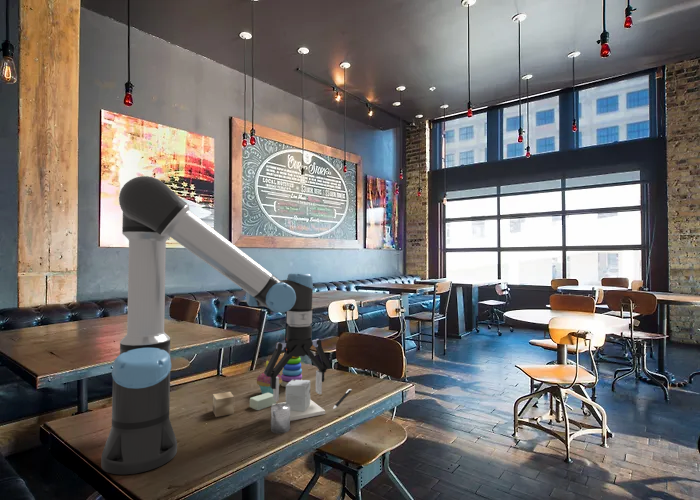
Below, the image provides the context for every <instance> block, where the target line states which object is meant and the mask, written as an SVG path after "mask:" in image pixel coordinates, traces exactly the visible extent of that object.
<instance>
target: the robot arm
mask: <svg viewBox="0 0 700 500" xmlns="http://www.w3.org/2000/svg"><path fill="white" fill-rule="evenodd" d="M118 196H119V197H118V203H119V207H120V209H121V211H122V222H121V223H122V226H121V227H122V229H121V230H122V231H121V234H122V235H123V236H124V237H125V238H126V239H127V240H128V270H127V272H128V273H127V274H128V275H127V278H128V279H127V280H128V283H127V321H126V322H127V323H126V326H127V329H126V335H125V336H123V338H122V339H121V340H120V341H119V355H118V356H117V357H116V358H115V359H114V362H113V366H112V369H111V376H112V397H111V399H112V400H111V401H112V403H111V429H110V431H109V434H108V436H107V439H106V442H105V444H104V448H103V450H102V452H101V461H100V462H101V463H100V465H101V469H102V470H103V471H104V472H106V473H108V474H113V475H134V474H140V473H145V472H148V471H151V470H155V469H157V468H159V467H162V466H164V465H165V464H167V463H168V462H170V461H171V460H172V459H174V457H175V456H176V455H177V452H178V441H177V440H178V439H177V438H176V434H175V431H174V429H173V426H172V423H171V420H170V409H171V408H170V407H171V406H170V405H171V370H172V361H171V337H170V336H169V335H168V334H167V333H166V332H165V310H166V309H165V307H166V304H165V301H166V253H167V250H166V248H167V245H166V244H167V241H168V239H170V238H171V239H173V240H174V241H176V242H177V243H178V244H179V245H181V246H183V247H184V248H185V249H186V250H188V251H189V252H191V253H192V254H194V256H196V257H198V258H199V259H200V260H201V261H203V262H205V263H206V264H208V266H210V267H211V268H213V269H214V270H215V271H217V272H218V273H219V274H221V275H222V276H224V277H225V278H226V279H228V280H229V281H230V282H232V283H234V285H236V286H238V287H239V288H240V289H242V290H243V291H244V292H245V300H246V304H247V305H248V306H249V307H265V308H267V309H269V310H270V311H271V312H274V313H277V314H278V313H280V314H282V313H283V314H284V313H286V324H287V326H286V337H285V342H279V341H276V342H275V346H274V347H275V348H274V351H273V353H272V354H271V357H270V360H268V365H267V367H266V366H265V367H266V368H265V369H264V372H263V373H264V374H265V375H266V376H267V377H270V387H271V388H272V389H273V399H274V400H275V401H276V402H279V400H280V399H279V397H280V395H279V393H280V385H279V378H278V377H277V375H278V374H279V375H280V373H281V371H283V369H284V366H285V365H286V364H287V362H288V361H289V360H290V359H291V358H292V357H293V356H294V357H298V356H299V357H305V356H307V357H308V358H309V359H310V361H311V362H312V363H313V365H314V366H315V367H316V368H317V370H315V393H317V394H318V395H322V394H323V393H322V390H323V385H322V383H324V382H325V373H326V372H327V370H330V369H331V364H330V361H329V360H328V358H327V356H326V354H325V353H326V352H325V351H324V349H323V346H322V345H323V344H322V340H321V339H319V338H315V339H313V340H312V336H313V335H312V331H313V329H312V328H313V326H312V325H311V324H312V323H313V291H314V284H313V282H314V280H313V276H312V274H310V273H307V272H306V273H302V272H301V273H299V272H295V273H293V272H291V273H287V278H286V279H283V280H282V279H279V278H278V277H276V275H274V274H273V273H272V272H270V271H269V270H267V269H266V268H265V267H263V266H262V265H261V264H259V263H258V262H257V261H256V260H254V259H253V258H252V257H251V256H249V255H248V254H247V253H246V252H244V251H243V250H242V249H240V248H239V247H238V246H236V245H235V244H234V243H232V242H231V241H229V240H228V239H227V238H226V237H224V236H223V235H222V234H220V232H218V231H216V229H214V228H213V227H211V225H209V224H207V223H206V222H205V221H203V219H201V218H200V217H198V216H197V215H195V214H194V212H192V211H191V210H190V206H189V205H190V204H188V203H187V202H186V201H185V200H183V199H182V198H181V197H180V196H178V194H176V193H175V192H174V191H173V190H172V189H171V188H170V187H169V185H167V184H165V183H164V182H163V181H162V180H160V179H158V178H155V177H152V176H147V175H146V176H145V175H142V176H140V175H139V176H137V177H136V176H135V177H133V178H131V179H129V180H128V181H126V183H124V184H123V186H122V187H121V189H120V192H119V195H118ZM286 339H287V340H286ZM312 347H314V348H315V349H316V352H317V355H318V357H319V359H320V361H321V362H320V361H319V359H318V358H317V357H316V356H315V355H314V353H313V352H312V350H311V349H312ZM284 348H285V350H286V349H287V351H285V352H284V354H283V356H282V357H281V354H282V351H284ZM280 357H281V359H280V360H279V358H280ZM278 360H279V361H278Z"/></svg>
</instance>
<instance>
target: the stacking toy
mask: <svg viewBox="0 0 700 500" xmlns="http://www.w3.org/2000/svg"><path fill="white" fill-rule="evenodd" d="M286 340H287V339H286V338H285V341H286ZM285 350H286V351H287V349H286V348H285ZM286 351H285V352H286ZM301 361H302V358H301V356H298V357H294V356H293V357H292V358H291V359H290V360H289V361H288V362H287V364H286V365H285V366H284V368H283V369H282V370H281V371H282V374H281V375H280V376H281V377H282V383H280V385H281V386H282V387H283V388H286V385H287V384H288V383H289V382H290V381H291V380H303V374H302V373H303V369H302V363H301Z"/></svg>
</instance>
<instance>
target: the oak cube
mask: <svg viewBox="0 0 700 500" xmlns="http://www.w3.org/2000/svg"><path fill="white" fill-rule="evenodd" d="M234 408H235V396H234V395H233V394H232V392H231V391H226V392H219V393H212V412H213V414H214V415H215V417H216V418H217V417H224V416H229V415H234V413H235V411H234V410H235V409H234Z"/></svg>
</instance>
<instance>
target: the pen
mask: <svg viewBox="0 0 700 500" xmlns="http://www.w3.org/2000/svg"><path fill="white" fill-rule="evenodd" d="M351 392H352V388H349V389H347V390H346V392H345V393H344V395H342V397H340V399H339V400H338V401H337V402H336V403H335V404H334V406H333V409H332V410H335V409H336V408H338V407H339V405H340V404H341V403H342V402H343V401H344V400H345V399H346V397H347V396H348V395H349V394H350V393H351Z"/></svg>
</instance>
